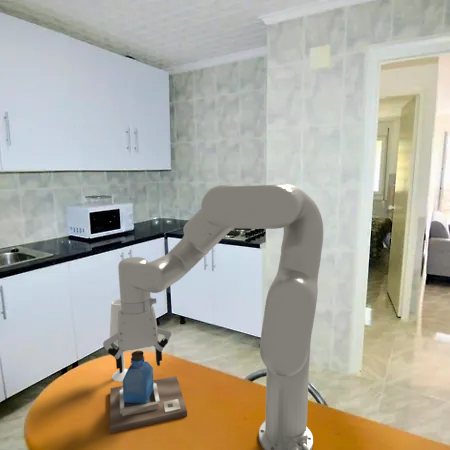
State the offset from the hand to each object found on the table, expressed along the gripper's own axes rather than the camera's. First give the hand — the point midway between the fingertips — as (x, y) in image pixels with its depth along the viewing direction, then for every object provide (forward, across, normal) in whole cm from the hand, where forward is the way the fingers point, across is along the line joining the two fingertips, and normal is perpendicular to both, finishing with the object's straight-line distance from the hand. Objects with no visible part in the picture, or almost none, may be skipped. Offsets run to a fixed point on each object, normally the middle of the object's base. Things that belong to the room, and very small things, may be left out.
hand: (139, 366), depth 88 cm
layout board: (+11, -1, 0) cm, 11 cm away
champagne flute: (+11, +5, -16) cm, 21 cm away
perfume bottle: (+9, +1, 0) cm, 9 cm away
